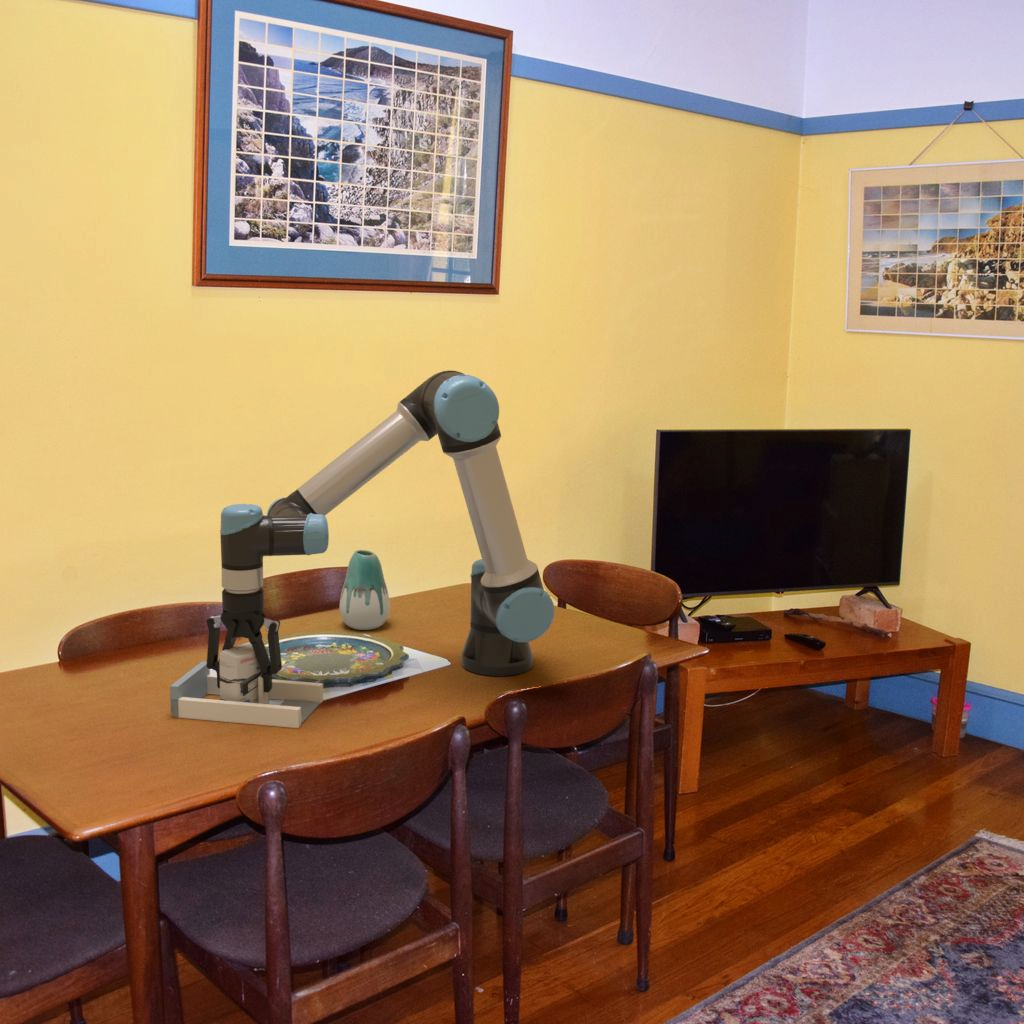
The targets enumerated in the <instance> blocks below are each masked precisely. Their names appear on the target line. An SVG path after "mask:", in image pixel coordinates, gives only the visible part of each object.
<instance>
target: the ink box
mask: <svg viewBox="0 0 1024 1024" xmlns="http://www.w3.org/2000/svg"><path fill="white" fill-rule="evenodd" d="M264 646H265V649H266V652H267V654H268V655H269V646H266V645H264ZM219 658H220V695H219V700H224V701H236V702H248V703H259V694H258V677H259V676H260V675H261V674H262V672H261V670H260V667H259V664H258V661H257V658H256V655H255V653H254V650H253V647H252V644H251V643H250V642H249V641H248V642H246V643H242V644H239V645H234V647H232V648H230V649H229V650H223V651H222V650H221V651H220V652H219V653H218V659H219ZM268 704H270V699H269V692H268Z"/></svg>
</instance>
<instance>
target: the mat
mask: <svg viewBox="0 0 1024 1024" xmlns="http://www.w3.org/2000/svg"><path fill="white" fill-rule="evenodd" d="M279 705H282V706H294V707H301V725H303V724H304V723H305V722H306V720H307V719H308V718H309V717H310V716H311V715H312V714H313V713H314V712H315V711H316V709H317V708H319V706H320V705H321V703H318V702H307V701H295V700H282V702H281V703H280V704H279Z"/></svg>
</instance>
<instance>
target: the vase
mask: <svg viewBox="0 0 1024 1024" xmlns="http://www.w3.org/2000/svg"><path fill="white" fill-rule="evenodd" d="M339 599H340V600H339V605H338V606H339V607H338V608H339V613H340V617H341V619H342V621H343V623H344V624H345V625H346V626H348V627H349V628H350V629H354V630H358V631H371V630H375V629H377V628H380V627H383V625H384V624H385V623H386V621H387V620H388V617H389V615H390V611H391V603H390V596H389V591H388V587H387V583H386V580H385V576H384V571H383V568H382V563H381V561H380V559H379V557H378V555H377V554H376V553H374V552H373V551H372V550H367V549H366V550H365V549H357V550H355V551H354V552H353V554H352V556H351V558H350V559H349V562H348V566H347V570H346V575H345V579H344V583H343V586H342V589H341V593H340V598H339Z"/></svg>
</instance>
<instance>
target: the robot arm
mask: <svg viewBox="0 0 1024 1024" xmlns="http://www.w3.org/2000/svg"><path fill="white" fill-rule="evenodd" d="M396 407H397V408H396V410H395V412H393V413H391V414H390V415H389V416H388V417H387V418H385V419H384V420H383V421H381V422H380V423H379V424H378V425H377V426H375V427H374V428H373V429H371V430H370V431H369V432H368V433H366V434H365V435H364V436H362V437H361V438H360V439H359V440H357V441H356V442H355V443H354V444H353V445H351V446H350V447H349V448H347V449H346V450H345V451H343V452H342V453H340V454H339V456H337V457H336V458H335V459H333V460H332V461H331V462H329V463H328V464H327V465H326V466H325V467H323V468H322V469H321V470H319V471H318V472H317V473H316V474H314V475H313V476H312V477H310V478H309V479H308V480H307V481H305V482H304V483H303V484H301V485H300V487H298V488H296V490H294V491H293V492H291V493H290V494H289V495H287V496H286V497H281V498H278V499H275V500H274V501H273V502H272V503H271V504H270V505H269V507H268V509H267V512H266V515H264V513H263V509H262V507H261V506H260V505H257V504H253V503H252V504H250V503H249V504H248V503H234V504H230V505H227V506H225V507H224V508H223V509H222V511H221V513H220V530H219V532H220V534H219V535H220V555H221V557H220V559H221V587H222V589H223V590H222V592H221V602H222V603H221V606H222V607H221V608H222V612H221V613H220V615H216V614H213V615H211V616H210V617H209V618H207V619H206V624H207V629H208V638H207V639H208V640H207V641H208V642H207V653H206V654H207V656H206V662H207V668H208V669H210V670H213V671H215V672H216V675H217V686H218V688H220V658H219V651H220V650H219V649H220V634H221V626H222V624H223V625H224V627H225V628H226V630H227V632H226V635H225V637H224V643H223V646H222V648H221V649H222V650H221V651H223V650H229V649H230V648H232V647H235V643H236V640H237V638H241V637H242V638H244V639H248V642H250V643H251V644H252V647H253V650H254V653H255V655H256V658H257V661H258V664H259V667H260V670H261V672H262V674H261V675H260V676H259V677H258V694H259V704H268V692H269V691H271V689H272V679H273V675H277V674H278V673H279V672H280V671H281V670H282V669H283V668H282V667H283V665H282V657H281V655H282V654H281V647H280V646H281V645H280V637H279V631H280V630H279V629H280V626H281V621H280V620H279V619H275V620H274V619H273V620H272V619H269V618H267V617H266V616H267V615H265V612H264V611H265V610H264V606H265V604H264V603H265V602H264V600H265V597H264V593H265V592H264V589H263V588H262V587H263V585H264V557H280V556H281V557H283V556H311V555H318V554H319V555H321V554H324V553H326V551H328V547H329V541H330V540H329V537H330V536H329V535H330V534H329V523H328V518H327V517H326V516H327V515H328V514H329V513H330V512H332V511H333V510H334V509H335V508H337V507H338V506H339V505H340V504H342V503H343V502H344V501H345V500H347V499H348V498H350V497H351V496H352V495H353V494H355V493H356V492H357V491H358V490H359V489H361V488H363V487H364V486H365V485H366V484H367V483H368V482H370V481H372V479H373V478H375V477H376V476H377V475H379V474H380V473H381V472H383V471H384V470H385V469H387V468H388V467H389V466H390V465H391V464H393V463H394V462H395V461H396V460H398V459H399V458H400V457H402V456H403V455H404V454H405V453H406V452H408V451H410V450H411V448H413V447H414V446H415V445H417V444H419V442H429V441H431V439H432V438H434V437H435V436H438V440H439V444H440V446H441V450H442V453H443V454H444V455H446V456H448V457H449V458H452V459H453V463H454V467H455V470H456V473H457V477H458V480H459V484H460V487H461V490H462V495H463V498H464V501H465V504H466V508H467V511H468V516H469V518H470V519H469V520H470V522H471V524H472V525H471V526H472V529H473V532H474V535H475V539H476V543H477V546H478V549H479V553H480V557H481V559H477V560H475V561H473V563H472V566H471V573H470V623H469V624H470V626H469V627H470V629H469V632H468V634H467V638H466V641H465V643H464V647H463V649H462V652H461V666H462V668H464V669H465V670H466V671H469V672H470V673H471V672H472V673H474V674H478V675H484V676H493V677H497V676H498V677H504V676H516V675H519V674H524V673H525V672H528V671H529V670H531V669H532V667H533V661H534V659H533V657H534V656H533V652H532V649H531V645H530V642H533V641H536V640H537V639H539V638H541V637H542V636H544V634H545V633H547V632H548V630H549V628H550V627H551V625H552V624H553V621H554V618H555V605H554V602H553V599H552V598H551V595H549V592H547V591H546V590H545V589H544V586H543V582H542V577H541V575H540V571H539V567H538V565H537V563H535V562H533V561H531V560H529V559H528V557H527V554H526V553H527V552H526V549H525V546H524V543H523V539H522V535H521V532H520V527H519V524H518V520H517V517H516V514H515V510H514V507H513V502H512V499H511V496H510V492H509V488H508V484H507V481H506V478H505V477H506V476H505V474H504V470H503V466H502V463H501V460H500V455H499V452H498V448H497V445H498V443H499V442H500V440H501V438H502V433H501V430H500V426H499V423H498V422H499V416H500V405H499V400H498V398H497V396H496V393H495V392H494V390H492V388H491V387H490V386H489V385H488V384H487V383H486V382H485V381H483V380H481V379H480V378H478V377H476V376H474V375H473V376H472V375H471V374H465V373H464V372H461V371H459V370H458V371H457V370H442V371H440V372H437V373H435V374H433V375H431V376H430V377H428V378H427V379H426V380H424V381H423V382H422V383H421V384H419V385H418V386H417V387H416V388H415V389H413V391H411V392H410V393H409V394H407V395H406V396H405V397H403V399H401V400H400V401H398V403H397V406H396ZM262 627H265V630H266V632H267V642H268V643H267V644H268V646H267V647H268V654H267V652H266V649H265V646H266V645H265V643H264V641H263V634H262V632H261V629H262Z"/></svg>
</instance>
